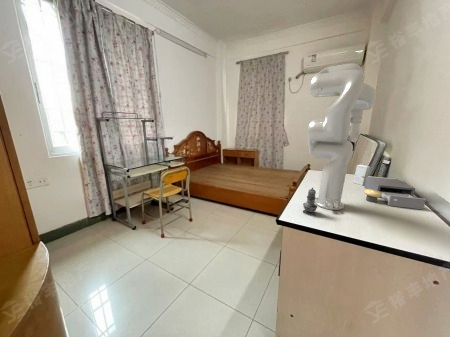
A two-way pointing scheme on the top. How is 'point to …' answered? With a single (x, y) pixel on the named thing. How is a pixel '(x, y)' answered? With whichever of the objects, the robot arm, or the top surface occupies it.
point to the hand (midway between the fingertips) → (347, 151)
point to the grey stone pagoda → (310, 203)
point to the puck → (371, 199)
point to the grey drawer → (403, 200)
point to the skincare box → (361, 174)
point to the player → (388, 185)
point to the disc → (373, 193)
